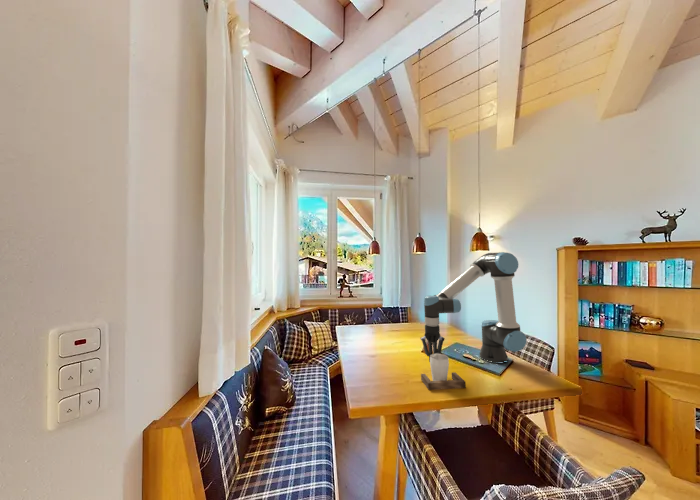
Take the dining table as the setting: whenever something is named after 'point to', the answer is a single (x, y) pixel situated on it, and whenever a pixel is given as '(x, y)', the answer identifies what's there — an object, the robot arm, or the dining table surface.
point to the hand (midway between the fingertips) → (433, 368)
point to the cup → (439, 367)
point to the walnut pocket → (444, 382)
